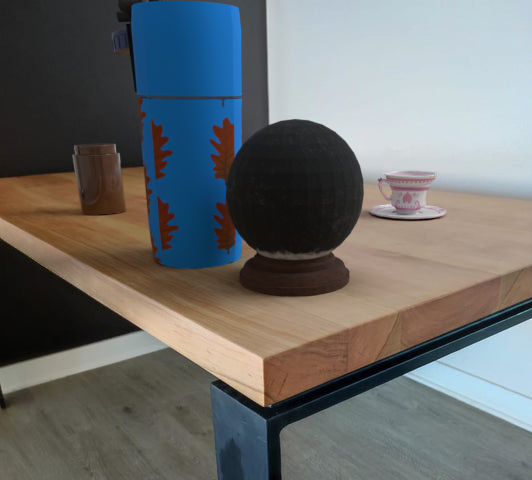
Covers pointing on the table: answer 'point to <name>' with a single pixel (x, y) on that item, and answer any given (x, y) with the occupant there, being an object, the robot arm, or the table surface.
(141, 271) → the table surface
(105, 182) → the jar
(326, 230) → the black crystal ball
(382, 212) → the teacup
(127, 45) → the lid
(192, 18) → the thermos
